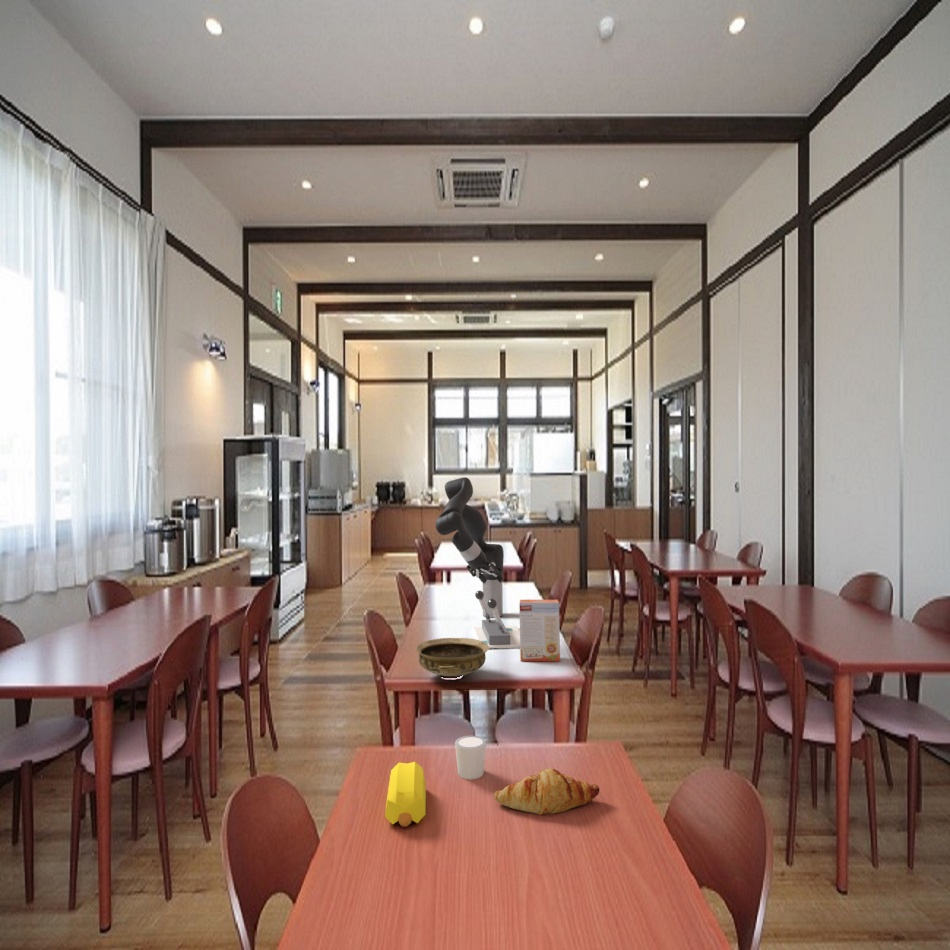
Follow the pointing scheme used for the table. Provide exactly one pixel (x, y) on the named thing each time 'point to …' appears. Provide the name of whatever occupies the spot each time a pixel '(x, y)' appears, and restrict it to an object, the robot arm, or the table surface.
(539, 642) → the cracker box
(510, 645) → the switch unit
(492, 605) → the lever outer
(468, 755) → the shot glass
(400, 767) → the yellow faceted prism
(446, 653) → the ceramic bowl
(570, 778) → the croissant
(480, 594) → the lever inner
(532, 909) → the table surface
